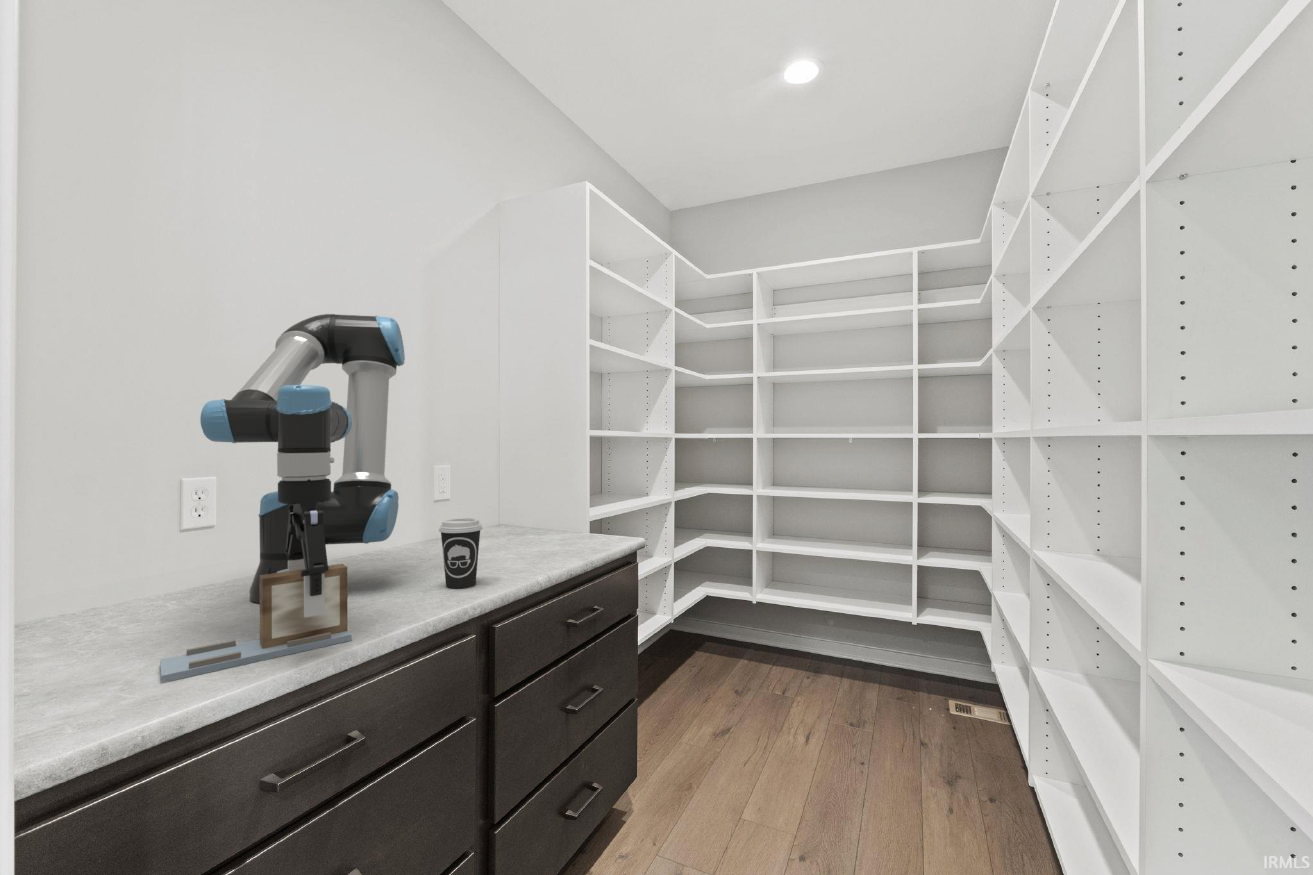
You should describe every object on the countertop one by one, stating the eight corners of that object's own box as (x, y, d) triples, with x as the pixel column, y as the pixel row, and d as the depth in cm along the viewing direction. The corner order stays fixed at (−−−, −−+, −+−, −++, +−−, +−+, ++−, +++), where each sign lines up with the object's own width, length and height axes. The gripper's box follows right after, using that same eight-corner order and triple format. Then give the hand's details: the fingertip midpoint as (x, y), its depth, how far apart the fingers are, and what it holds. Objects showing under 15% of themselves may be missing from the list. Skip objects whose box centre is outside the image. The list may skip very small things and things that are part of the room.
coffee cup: (491, 583, 130) (491, 519, 130) (457, 593, 122) (456, 524, 122) (464, 578, 136) (464, 516, 136) (429, 587, 128) (429, 521, 128)
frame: (262, 648, 88) (262, 579, 88) (259, 643, 90) (259, 575, 90) (347, 630, 96) (347, 566, 96) (342, 626, 98) (342, 563, 98)
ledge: (160, 665, 84) (160, 653, 84) (339, 628, 100) (339, 618, 100) (161, 682, 78) (161, 670, 78) (351, 640, 94) (351, 629, 94)
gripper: (349, 481, 86) (350, 618, 86) (314, 473, 105) (314, 586, 105) (292, 484, 81) (293, 629, 81) (266, 475, 100) (266, 594, 100)
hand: (305, 605), depth 93 cm, fingers open, 13 cm apart
